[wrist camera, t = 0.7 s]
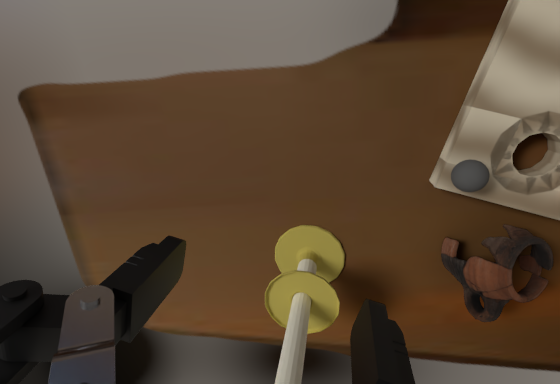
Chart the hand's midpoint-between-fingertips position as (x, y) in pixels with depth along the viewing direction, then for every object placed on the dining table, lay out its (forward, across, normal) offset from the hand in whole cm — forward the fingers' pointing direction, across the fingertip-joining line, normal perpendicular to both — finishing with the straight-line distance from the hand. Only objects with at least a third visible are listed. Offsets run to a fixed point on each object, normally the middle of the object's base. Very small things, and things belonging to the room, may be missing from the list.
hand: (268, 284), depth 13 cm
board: (+27, -22, -11) cm, 36 cm away
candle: (+26, -4, +15) cm, 31 cm away
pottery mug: (+27, -24, +8) cm, 37 cm away
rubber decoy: (+22, -16, -2) cm, 28 cm away
